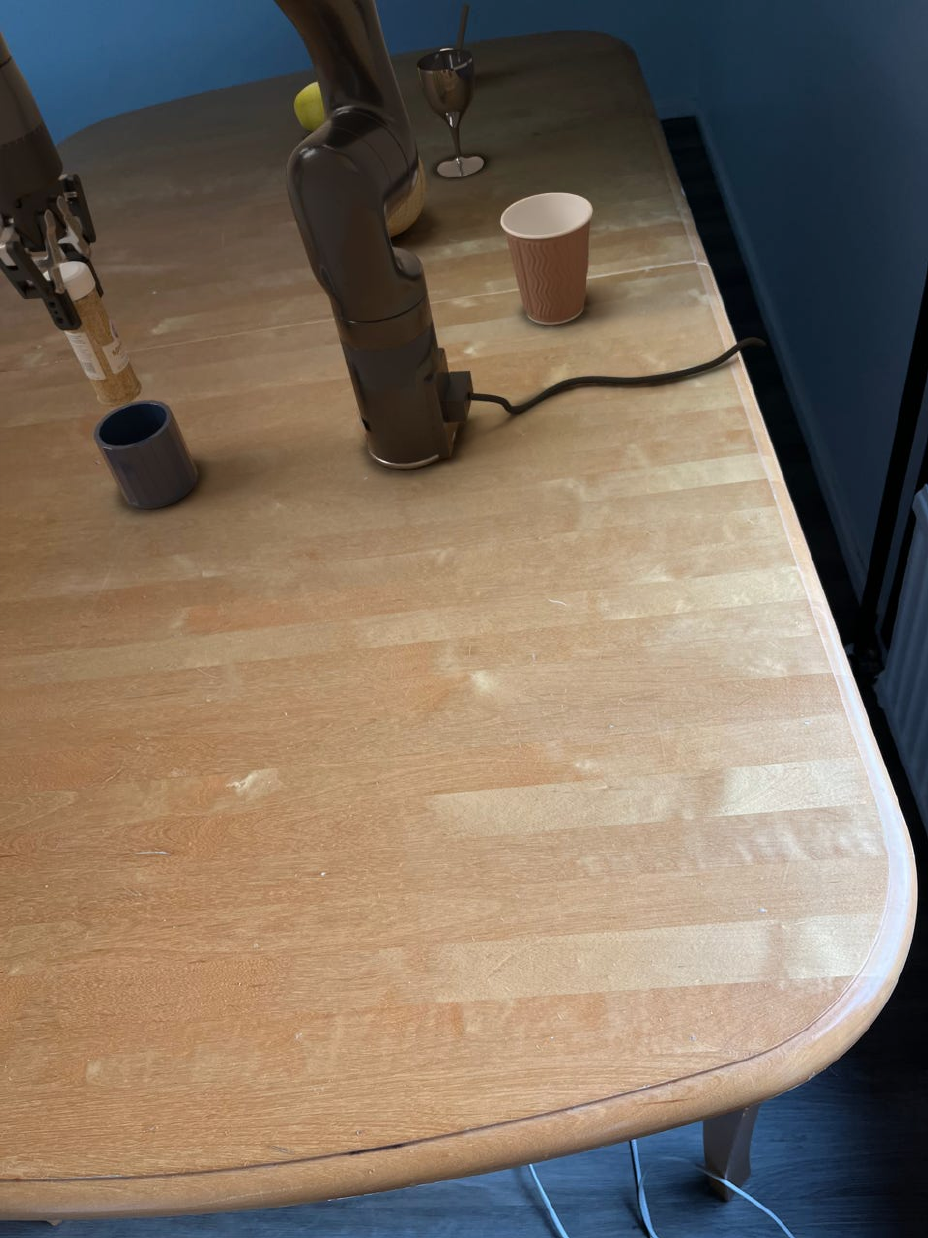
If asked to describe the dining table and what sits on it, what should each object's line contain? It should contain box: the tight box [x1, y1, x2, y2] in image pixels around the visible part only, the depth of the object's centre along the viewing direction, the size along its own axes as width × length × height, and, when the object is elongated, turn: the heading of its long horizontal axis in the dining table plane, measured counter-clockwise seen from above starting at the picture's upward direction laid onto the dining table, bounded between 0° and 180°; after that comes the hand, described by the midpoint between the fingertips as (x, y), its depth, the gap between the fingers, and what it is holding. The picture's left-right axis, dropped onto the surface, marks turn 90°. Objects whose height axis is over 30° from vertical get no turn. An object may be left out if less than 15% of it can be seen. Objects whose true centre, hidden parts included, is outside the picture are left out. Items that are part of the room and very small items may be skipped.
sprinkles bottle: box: [42, 261, 143, 408], centre depth 97 cm, size 5×5×13 cm
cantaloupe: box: [386, 154, 427, 239], centre depth 137 cm, size 15×15×15 cm
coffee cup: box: [500, 192, 594, 326], centre depth 118 cm, size 10×10×12 cm
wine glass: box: [416, 48, 485, 178], centre depth 149 cm, size 8×8×15 cm
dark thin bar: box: [439, 1, 470, 51], centre depth 171 cm, size 10×6×12 cm, turn 98°
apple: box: [293, 81, 325, 133], centre depth 167 cm, size 8×9×8 cm
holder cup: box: [93, 399, 199, 510], centre depth 108 cm, size 8×8×8 cm
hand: (82, 311), depth 96 cm, fingers closed on sprinkles bottle, 4 cm apart
